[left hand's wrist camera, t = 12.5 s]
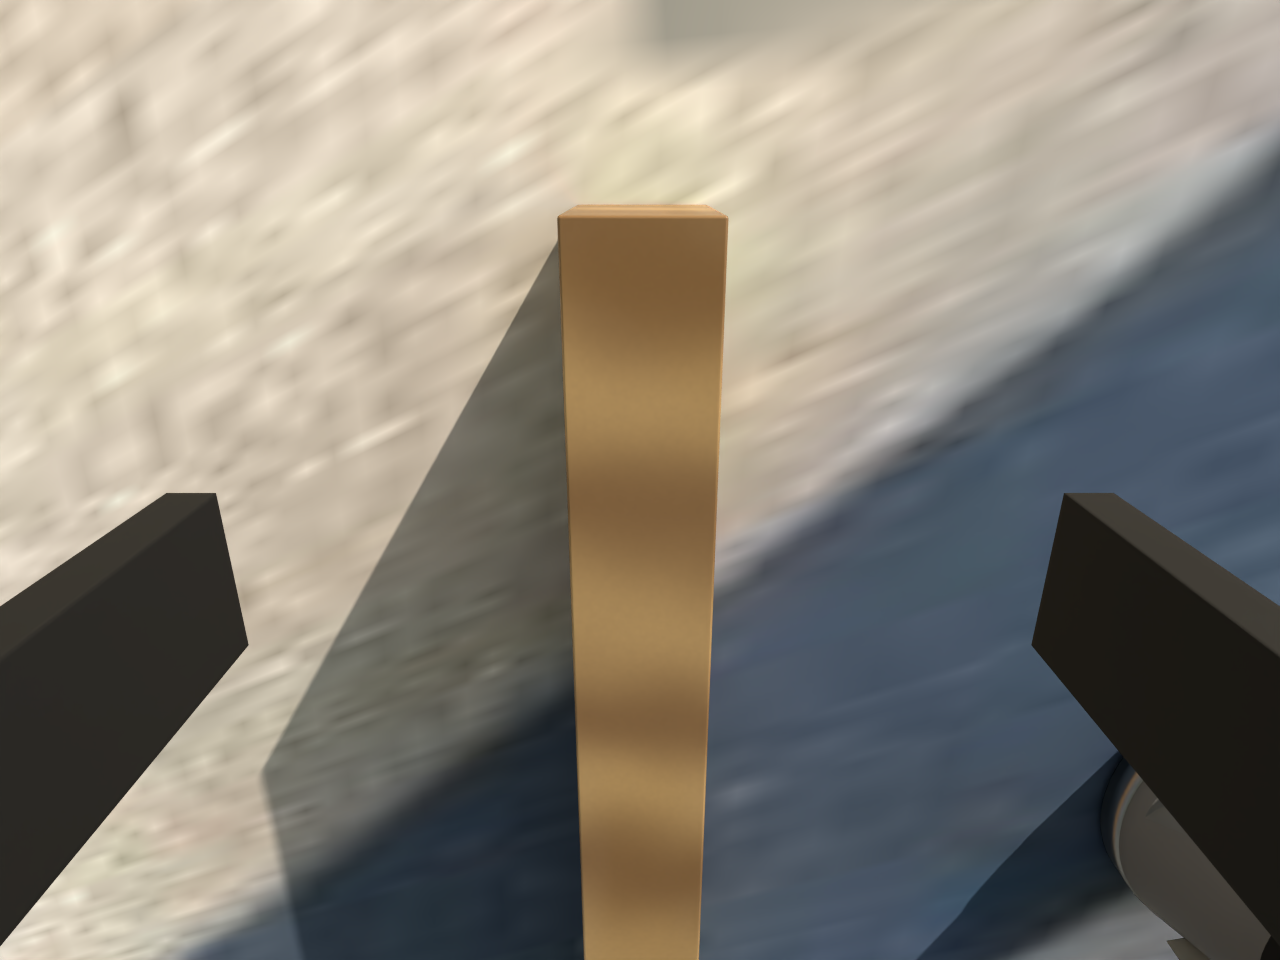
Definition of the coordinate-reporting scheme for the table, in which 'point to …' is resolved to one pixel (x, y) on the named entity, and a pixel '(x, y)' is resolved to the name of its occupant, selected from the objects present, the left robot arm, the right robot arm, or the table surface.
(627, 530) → the beam
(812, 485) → the table surface
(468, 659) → the table surface
